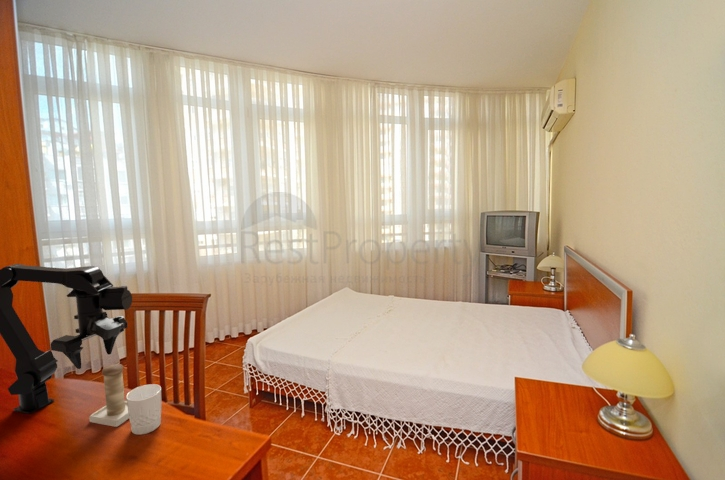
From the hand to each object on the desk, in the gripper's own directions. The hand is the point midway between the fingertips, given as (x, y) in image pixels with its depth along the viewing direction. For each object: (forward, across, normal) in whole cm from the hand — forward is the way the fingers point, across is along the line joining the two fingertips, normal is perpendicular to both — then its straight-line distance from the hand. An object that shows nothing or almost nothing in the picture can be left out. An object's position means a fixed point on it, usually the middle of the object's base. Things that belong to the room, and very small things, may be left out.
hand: (94, 361), depth 102 cm
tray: (+13, -4, -11) cm, 17 cm away
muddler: (+12, -4, -11) cm, 17 cm away
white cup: (+13, -6, -23) cm, 27 cm away
